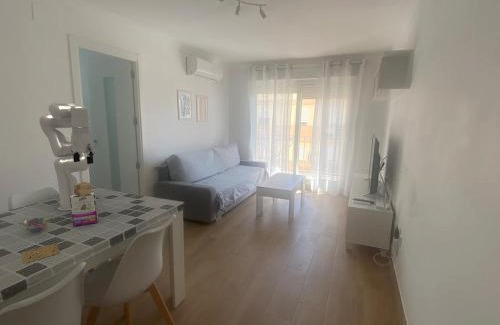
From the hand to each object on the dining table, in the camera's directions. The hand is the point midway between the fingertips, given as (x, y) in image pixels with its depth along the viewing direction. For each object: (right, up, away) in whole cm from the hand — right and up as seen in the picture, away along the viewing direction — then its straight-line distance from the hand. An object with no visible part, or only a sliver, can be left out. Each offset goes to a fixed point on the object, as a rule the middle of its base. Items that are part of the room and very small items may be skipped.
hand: (83, 162), depth 136 cm
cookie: (+1, -39, -29) cm, 48 cm away
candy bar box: (0, -33, +1) cm, 33 cm away
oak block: (+1, -16, -2) cm, 17 cm away
